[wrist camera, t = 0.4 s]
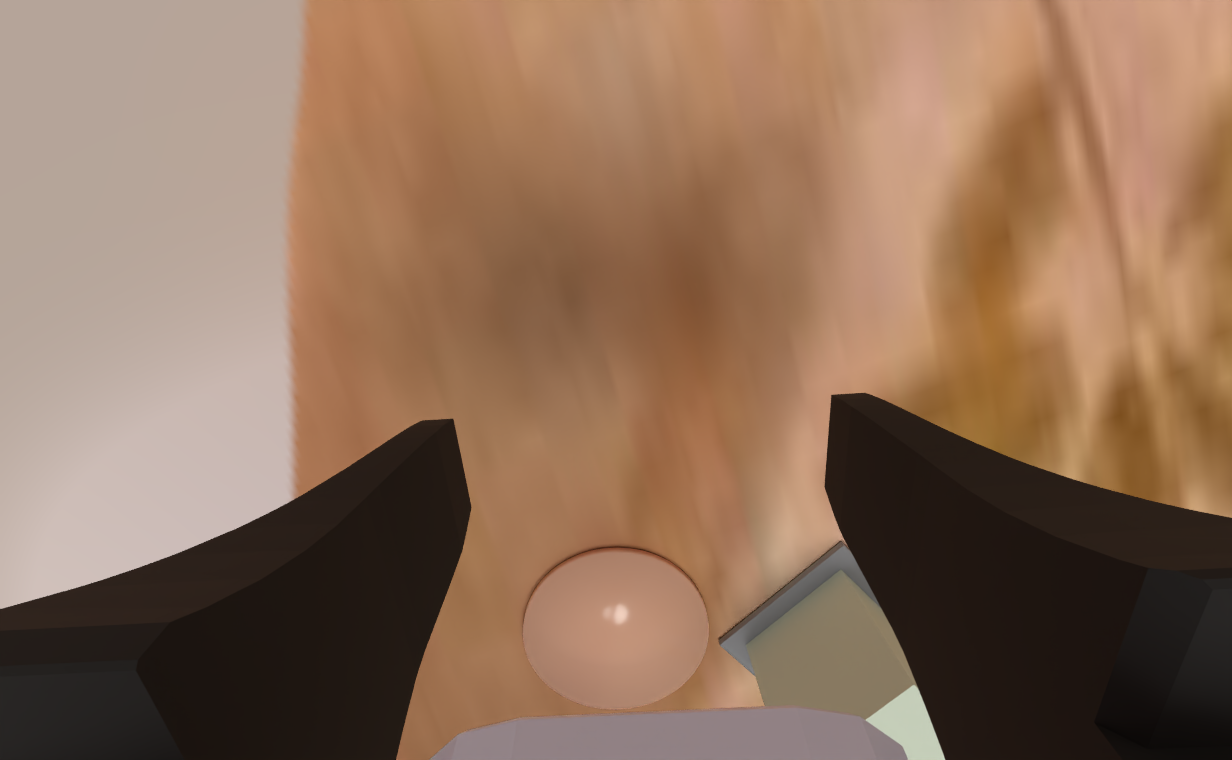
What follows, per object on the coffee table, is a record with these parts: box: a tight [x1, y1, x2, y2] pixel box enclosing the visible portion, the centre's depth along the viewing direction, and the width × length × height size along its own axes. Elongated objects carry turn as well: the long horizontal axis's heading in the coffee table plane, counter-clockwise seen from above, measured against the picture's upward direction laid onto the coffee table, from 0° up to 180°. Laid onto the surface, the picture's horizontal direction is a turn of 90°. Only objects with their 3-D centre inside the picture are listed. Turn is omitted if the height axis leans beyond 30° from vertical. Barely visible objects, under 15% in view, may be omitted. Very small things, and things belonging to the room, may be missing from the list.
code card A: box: [719, 542, 881, 676], centre depth 26 cm, size 6×6×1 cm
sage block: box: [746, 570, 945, 760], centre depth 23 cm, size 5×5×6 cm
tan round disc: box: [523, 547, 709, 710], centre depth 25 cm, size 8×8×1 cm
